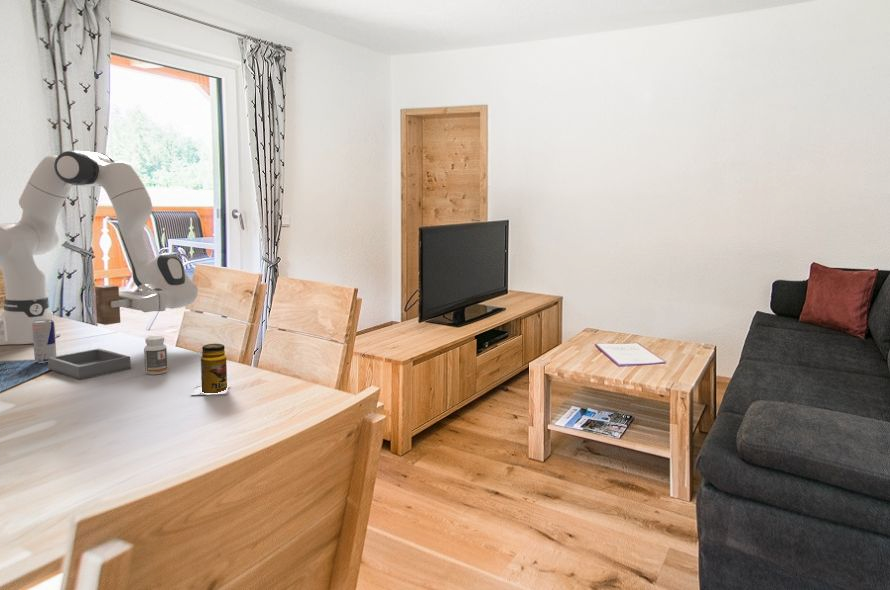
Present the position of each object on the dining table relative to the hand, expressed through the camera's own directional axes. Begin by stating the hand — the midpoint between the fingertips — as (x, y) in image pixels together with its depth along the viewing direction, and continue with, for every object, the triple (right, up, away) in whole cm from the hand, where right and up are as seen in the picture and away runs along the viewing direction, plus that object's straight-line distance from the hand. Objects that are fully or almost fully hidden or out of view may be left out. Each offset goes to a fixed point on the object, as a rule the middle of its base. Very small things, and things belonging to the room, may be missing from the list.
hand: (104, 303), depth 176 cm
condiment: (+41, -22, -25) cm, 53 cm away
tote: (+1, -18, -9) cm, 20 cm away
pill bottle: (+20, -19, -10) cm, 30 cm away
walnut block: (0, -6, +2) cm, 6 cm away
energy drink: (-16, -17, -2) cm, 24 cm away
